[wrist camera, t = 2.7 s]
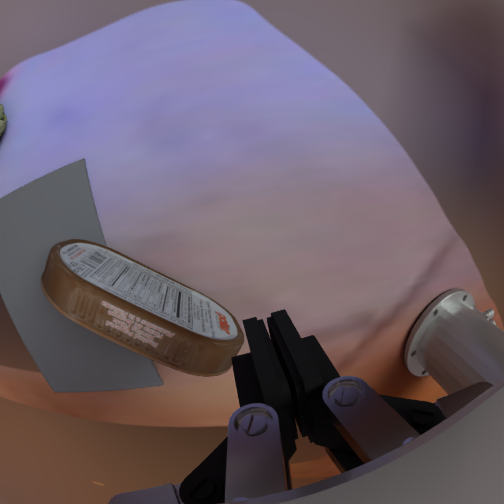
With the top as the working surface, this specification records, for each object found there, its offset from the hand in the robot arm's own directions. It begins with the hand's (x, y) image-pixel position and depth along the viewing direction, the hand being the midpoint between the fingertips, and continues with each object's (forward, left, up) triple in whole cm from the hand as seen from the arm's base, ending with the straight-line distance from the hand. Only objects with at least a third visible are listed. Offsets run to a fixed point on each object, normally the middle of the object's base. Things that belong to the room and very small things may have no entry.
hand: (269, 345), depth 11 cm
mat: (+18, 0, -12) cm, 22 cm away
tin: (+7, 0, -12) cm, 14 cm away
